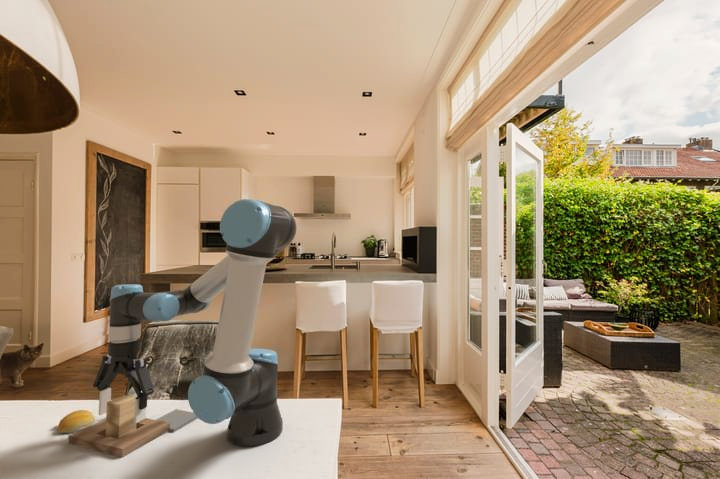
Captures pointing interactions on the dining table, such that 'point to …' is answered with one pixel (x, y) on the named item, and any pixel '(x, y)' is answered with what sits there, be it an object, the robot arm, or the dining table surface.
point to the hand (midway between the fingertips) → (121, 416)
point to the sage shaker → (132, 392)
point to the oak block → (120, 416)
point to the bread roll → (76, 421)
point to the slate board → (178, 419)
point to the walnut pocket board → (122, 446)
